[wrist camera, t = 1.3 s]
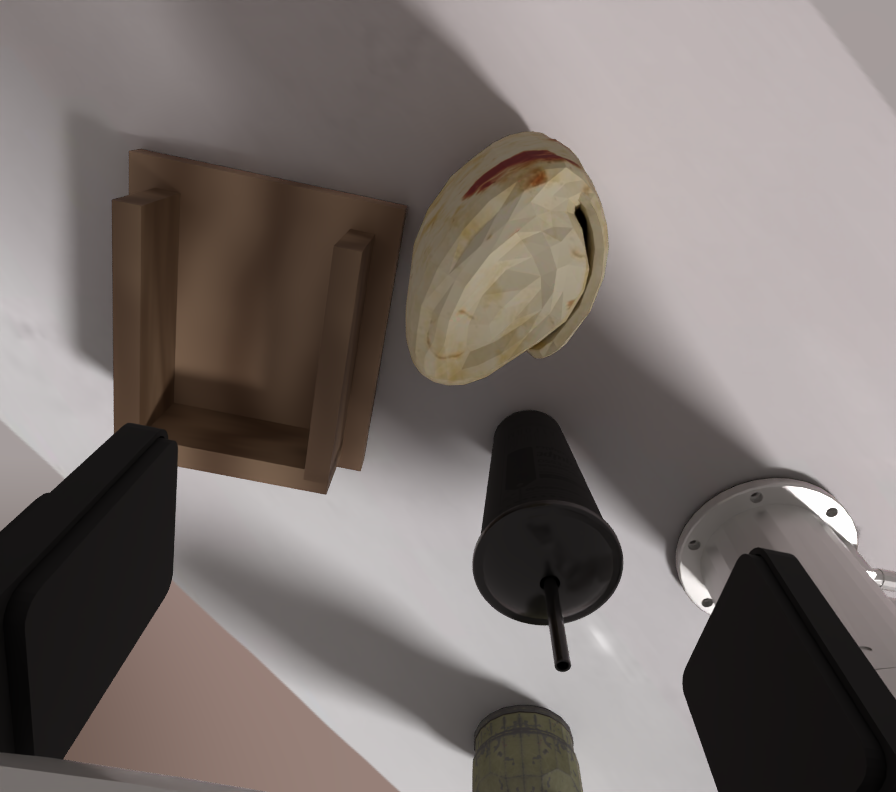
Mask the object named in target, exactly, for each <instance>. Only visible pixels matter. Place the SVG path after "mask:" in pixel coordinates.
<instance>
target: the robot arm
mask: <svg viewBox="0 0 896 792" xmlns="http://www.w3.org/2000/svg"><path fill="white" fill-rule="evenodd" d="M177 465H178V444H177V442H176V441H174V440H169V439H168V434H167V431H166V430H165V429H160V428H155V427H150V426H145V425H140V424H135V423H126V424H125V425H123V426H122V427H121V428H120V429H119V430H118V431H117V432H116V433H115V434H113V435H112V436H111V437H110V438H109V439H108V440H107V441H106V442H105V443H104V444H103V445H101V446H100V447H99V448H98V449H97V450H96V451H95V452H94V453H93V454H92V455H91V456H89V457H88V458H87V459H86V460H85V461H84V462H83V463H82V464H81V465H80V466H79V467H77V468H76V469H75V470H74V471H73V472H72V473H71V474H70V475H69V476H68V477H67V478H65V479H64V480H63V481H62V482H61V483H60V484H59V485H58V486H57V487H56V488H55V489H54V490H52V491H51V492H50V493H45V494H43V495H42V496H40V497H39V498H37V499H36V500H35V501H34V502H32V503H31V504H30V505H29V506H28V507H27V508H26V509H25V510H24V511H23V512H22V513H20V514H19V515H18V516H17V517H16V518H15V519H14V520H13V521H11V522H10V523H9V524H8V525H7V526H6V527H5V528H4V529H3V530H2V531H0V792H265V791H259V790H253V789H247V788H241V787H235V786H229V785H223V784H217V783H211V782H205V781H199V780H194V779H188V778H182V777H175V776H168V775H161V774H156V773H149V772H142V771H136V770H129V769H122V768H115V767H108V766H102V765H95V764H89V763H82V762H76V761H69V760H63V758H64V757H65V755H66V754H67V752H68V750H69V749H70V747H71V746H72V744H73V743H74V741H75V739H76V738H77V736H78V735H79V733H80V731H81V730H82V728H83V727H84V725H85V723H86V722H87V720H88V719H89V717H90V715H91V714H92V712H93V711H94V709H95V708H96V706H97V704H98V703H99V701H100V700H101V698H102V696H103V695H104V693H105V692H106V690H107V688H108V687H109V685H110V684H111V682H112V681H113V679H114V677H115V676H116V674H117V673H118V671H119V669H120V668H121V666H122V665H123V663H124V661H125V660H126V658H127V657H128V655H129V653H130V652H131V650H132V649H133V647H134V646H135V644H136V642H137V641H138V639H139V638H140V636H141V634H142V633H143V631H144V630H145V628H146V627H147V625H148V623H149V622H150V620H151V619H152V617H153V615H154V614H155V612H156V611H157V609H158V607H159V606H160V604H161V603H162V601H163V599H164V598H165V596H166V594H167V592H168V590H169V587H170V584H171V581H172V576H173V559H174V536H175V512H176V489H177ZM857 548H858V539H857V531H856V528H855V525H854V523H853V520H852V518H851V517H850V515H849V514H848V512H847V511H846V510H845V508H844V507H843V506H842V505H841V504H840V503H839V502H838V501H837V500H836V499H835V498H834V497H833V496H832V495H831V494H829V493H828V492H826V491H825V490H823V489H822V488H820V487H818V486H815V485H813V484H810V483H808V482H805V481H799V480H794V479H788V478H769V479H761V480H754V481H751V482H747V483H744V484H740V485H737V486H735V487H733V488H730V489H728V490H726V491H724V492H722V493H720V494H719V495H717V496H716V497H714V498H713V499H711V500H710V501H708V502H707V503H705V504H704V505H703V506H702V507H701V508H700V509H699V510H698V511H697V512H696V513H695V514H694V515H693V516H692V518H691V519H690V520H689V522H688V523H687V524H686V526H685V528H684V530H683V532H682V534H681V536H680V538H679V541H678V545H677V549H676V569H677V573H678V577H679V580H680V582H681V584H682V586H683V589H684V591H685V592H686V594H687V595H688V597H689V598H690V599H691V601H692V602H693V603H694V604H695V605H696V606H697V607H698V608H700V609H701V610H702V611H704V612H706V613H708V614H709V615H710V618H709V620H708V622H707V624H706V626H705V628H704V630H703V632H702V634H701V636H700V638H699V640H698V643H697V645H696V647H695V649H694V651H693V653H692V655H691V657H690V659H689V661H688V663H687V666H686V668H685V670H684V674H683V683H682V684H683V692H684V695H685V698H686V701H687V704H688V707H689V710H690V712H691V715H692V718H693V721H694V724H695V727H696V730H697V732H698V735H699V738H700V741H701V744H702V747H703V750H704V753H705V755H706V758H707V761H708V764H709V767H710V770H711V773H712V775H713V778H714V781H715V784H716V787H717V790H718V792H896V599H895V598H890V597H887V595H886V594H885V593H884V592H883V591H882V590H888V591H896V572H894V571H888V570H883V569H873V568H871V567H870V566H869V565H868V563H867V562H866V561H865V560H864V559H863V557H862V556H861V555H860V554H859V553H858V552H857Z"/></svg>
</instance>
